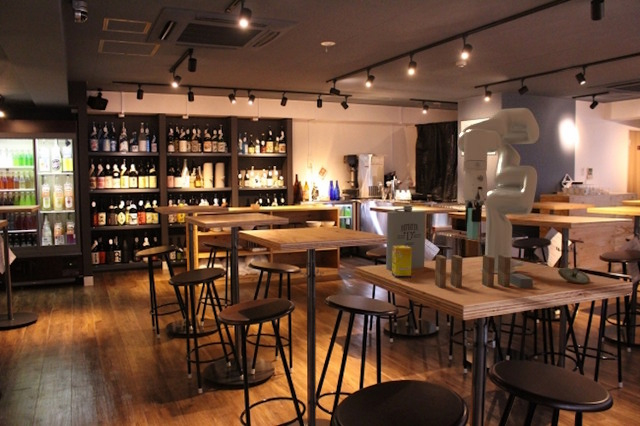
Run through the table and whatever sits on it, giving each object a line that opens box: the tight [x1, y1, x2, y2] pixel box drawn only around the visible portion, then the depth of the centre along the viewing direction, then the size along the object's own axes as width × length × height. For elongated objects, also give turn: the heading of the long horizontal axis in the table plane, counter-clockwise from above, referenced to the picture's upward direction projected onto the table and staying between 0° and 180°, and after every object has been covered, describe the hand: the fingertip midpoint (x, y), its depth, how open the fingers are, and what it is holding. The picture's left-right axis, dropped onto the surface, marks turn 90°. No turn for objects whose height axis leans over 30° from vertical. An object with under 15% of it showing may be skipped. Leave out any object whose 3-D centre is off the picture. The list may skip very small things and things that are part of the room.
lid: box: [557, 267, 591, 285], centre depth 186 cm, size 11×10×5 cm
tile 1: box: [434, 254, 447, 289], centre depth 176 cm, size 2×5×10 cm, turn 5°
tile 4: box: [481, 254, 495, 288], centre depth 178 cm, size 2×5×10 cm, turn 5°
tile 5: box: [496, 255, 512, 288], centre depth 178 cm, size 2×5×10 cm, turn 5°
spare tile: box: [466, 208, 480, 240], centre depth 177 cm, size 2×5×10 cm, turn 5°
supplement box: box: [391, 246, 412, 279], centre depth 192 cm, size 6×6×11 cm
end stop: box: [510, 273, 534, 289], centre depth 179 cm, size 4×9×3 cm, turn 5°
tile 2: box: [450, 254, 464, 288], centre depth 177 cm, size 2×5×10 cm, turn 5°
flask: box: [385, 204, 427, 271], centre depth 208 cm, size 17×5×25 cm, turn 117°
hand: (473, 220), depth 177 cm, fingers closed on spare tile, 4 cm apart
